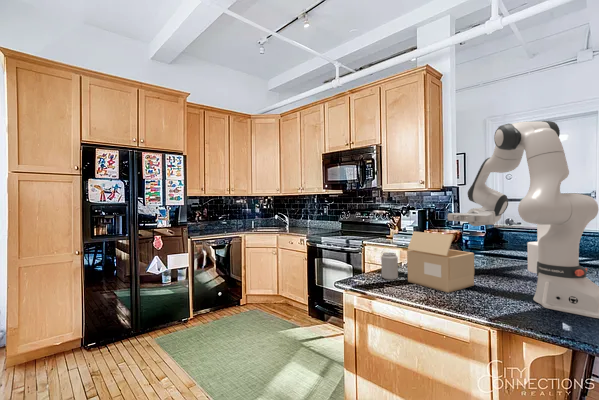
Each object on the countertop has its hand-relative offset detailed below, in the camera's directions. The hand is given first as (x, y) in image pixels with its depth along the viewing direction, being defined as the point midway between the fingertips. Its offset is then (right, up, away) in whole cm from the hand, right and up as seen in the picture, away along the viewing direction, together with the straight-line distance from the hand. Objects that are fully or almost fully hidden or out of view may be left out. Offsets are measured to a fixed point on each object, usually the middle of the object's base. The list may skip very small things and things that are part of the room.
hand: (460, 218), depth 146 cm
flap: (-19, -10, -12) cm, 25 cm away
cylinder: (+48, -27, +8) cm, 56 cm away
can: (-32, -29, +2) cm, 43 cm away
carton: (-13, -28, -8) cm, 32 cm away
